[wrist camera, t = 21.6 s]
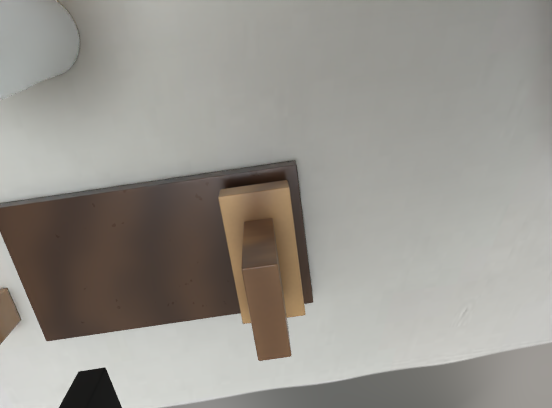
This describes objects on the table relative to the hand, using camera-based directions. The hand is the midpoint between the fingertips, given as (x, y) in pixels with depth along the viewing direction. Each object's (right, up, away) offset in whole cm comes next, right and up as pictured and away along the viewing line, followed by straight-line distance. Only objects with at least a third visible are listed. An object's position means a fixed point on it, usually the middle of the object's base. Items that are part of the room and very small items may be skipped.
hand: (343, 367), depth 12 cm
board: (-13, 0, +30) cm, 33 cm away
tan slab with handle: (-3, +1, +29) cm, 29 cm away
